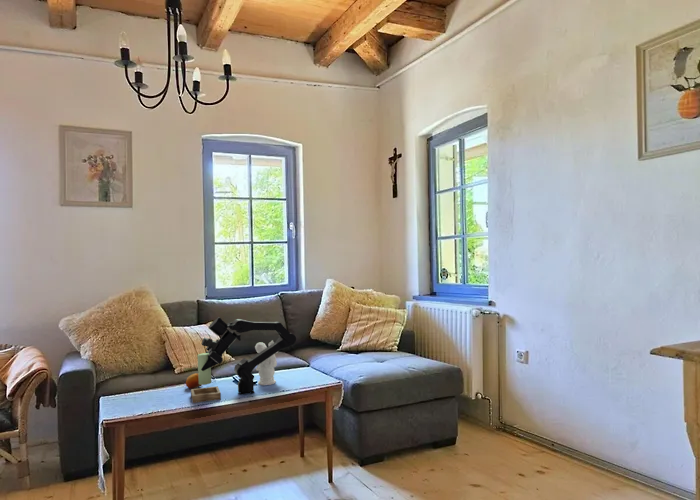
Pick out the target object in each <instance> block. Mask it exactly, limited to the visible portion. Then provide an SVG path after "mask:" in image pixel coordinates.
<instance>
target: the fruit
mask: <svg viewBox="0 0 700 500" xmlns="http://www.w3.org/2000/svg"><path fill="white" fill-rule="evenodd" d="M185 386H186V387H187V388H188V389H190V390H191V389H199V388H200V387H201V388H204V387H203V386H204V385H200V384H199V378H198V372H197V373H192V374H190V375H188V376H187V378H186V381H185Z"/></svg>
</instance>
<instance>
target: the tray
mask: <svg viewBox="0 0 700 500" xmlns="http://www.w3.org/2000/svg"><path fill="white" fill-rule="evenodd" d="M221 396H222V392H221V391H220V388H219V386H209V387H201V388H200V387H198V388H194V389H190V397H191V401H192V404H196V403H197V404H198V403H203V402H204V403H205V402H210V401H211V402H212V401H218V400H222V397H221Z"/></svg>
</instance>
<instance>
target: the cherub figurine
mask: <svg viewBox="0 0 700 500" xmlns="http://www.w3.org/2000/svg"><path fill="white" fill-rule="evenodd" d="M273 343H275V342H274V339H272V340H271V341H270V342H268V347H269V346H270V345H272V344H273ZM266 348H267V345H266V343H264V342H262V341H261V342H257V343H256V344H255V346H254V349H255V351H256V352H257V353H256V354H258V353H260V352H261V351H263V350H264V349H266ZM277 353H279V351H278V352H276V353H275V354H273V355H272V356H270V357H269V358H268V359H266V360H265V361H263V362H262V363H260V364H259V365H257V366H256V367H255V371H258V375H259V380H258V382H257V384H258V385H260V386H271V385H273V384H276V383H277V381H276V379H275V377H274V376H275V372H276V371H275V368H276V367H277V365H278V361H277V357H276V354H277Z"/></svg>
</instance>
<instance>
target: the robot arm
mask: <svg viewBox="0 0 700 500" xmlns="http://www.w3.org/2000/svg"><path fill="white" fill-rule="evenodd" d="M207 329H209V330H210V331H211V332H212V333H213V334H215V335H216V336H217V337H219V336H221V337H220V338H219V339H216V340H213V338H210V337H209V338H207V337H203V339H202V341H201V346H203V347H206V348H205V353H209V355H208V359H207V361H206V363H205V364H204V366H203V367H202V369H201V370H202V371H204V370H206V369H208V368H210V367H211V368H212V367H214V366H216V365H218V364H219V365H221V363H223V362H224V359H223V355H224V353H225V352H226V351H228V350H229V348H230V346H231V345H232V344H233V343H234V342H235V341H236V340H238V341H239V342H241V340H242V339H241V333H248V332H251V331H275V332H276V333H277V334H278V338H277V339H276V340H275V342H274V343H273V344H272V345H270V346H269V347H267V348H266V349H264V350H263V351H261V352H260V353H256V354H255V355H254V356H252V357H251V358H250V359H249V358H248V359H246V358H245V357H243V358H242V359H241V360H239V361H237V362H236V364H235V365H234V369H233V371H234V374H235V375H237V376H238V377H239V379H238V382H237V391H238V393H239V394H240V395H248V394H254V393H255V391H254V388H255V387H254V378H255V375H254V374H253V373H252V372H253V371H254V370H255V369H256V368H257V366H258V365H259V364H260V363H262V362H263V361H265V360H266V359H268V358H269V357H270V356H272V355H273V354H275V355H276V354H277V353H276V352H278V353H279V352H280V351H281V350H285V349H287V348H290V347H291V346H294V345H295V344H296V342H297V337H296V335H295V334H294V333H292V332H290V331H289V330H288V329H287V328H286V327H285V326H284V325H283V324H282V322H280V321H249V320H245V319H241V318H237V319H234V320H233V321H231V322H227V323H226V322H225V321H224V320H223V319H222V318H221V317H219V316H218V317H217V318H216V319H214V321H212V322H211V323H210V324H209V326H208V328H207ZM229 329H230V330H229ZM238 333H240V334H238Z"/></svg>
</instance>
